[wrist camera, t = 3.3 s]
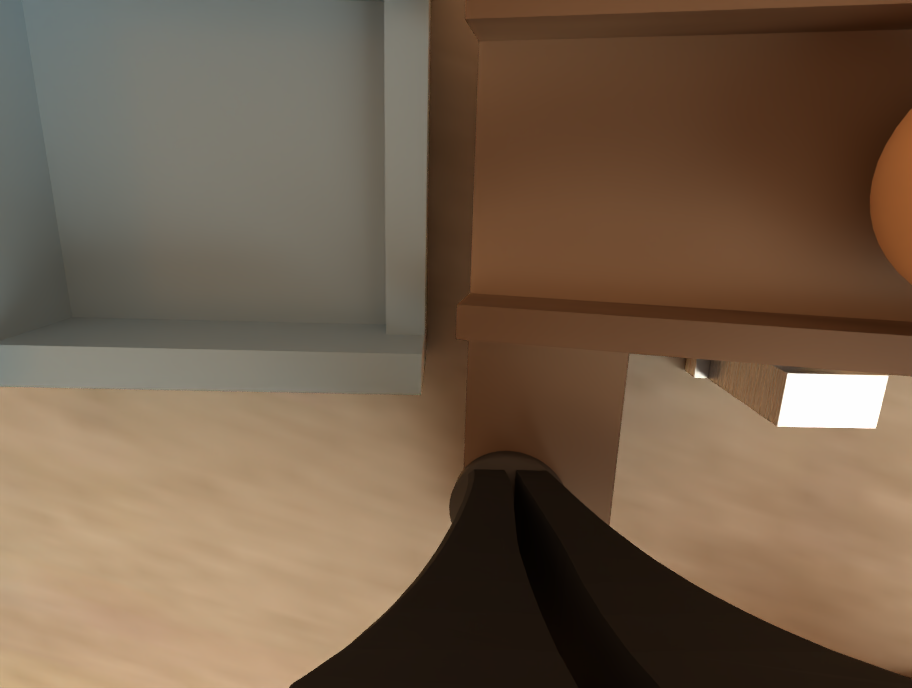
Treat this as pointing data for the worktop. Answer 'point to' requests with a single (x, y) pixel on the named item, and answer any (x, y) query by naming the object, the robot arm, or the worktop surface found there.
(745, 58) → the lever
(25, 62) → the dish
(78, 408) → the worktop surface
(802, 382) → the fulcrum
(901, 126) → the ball
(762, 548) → the worktop surface
